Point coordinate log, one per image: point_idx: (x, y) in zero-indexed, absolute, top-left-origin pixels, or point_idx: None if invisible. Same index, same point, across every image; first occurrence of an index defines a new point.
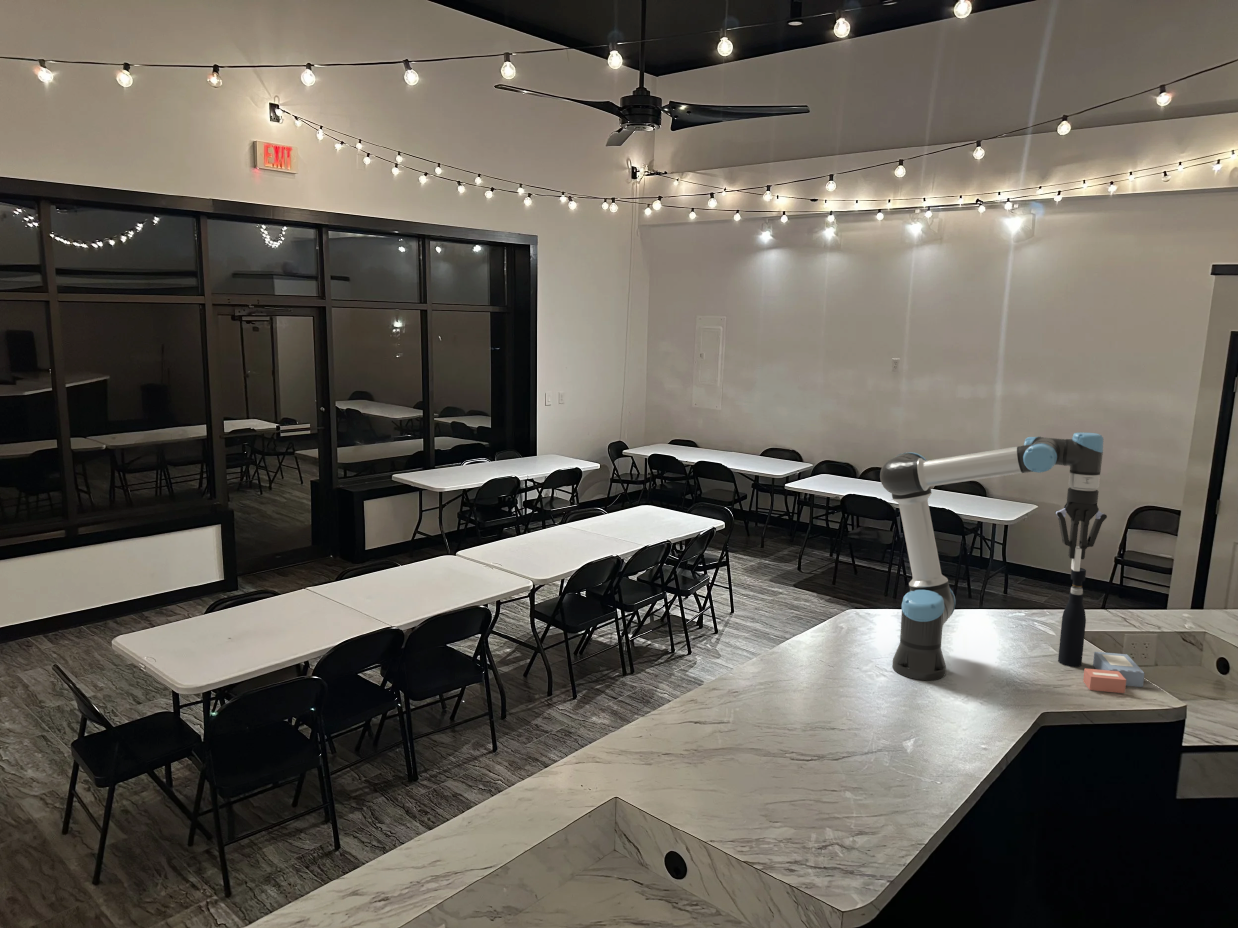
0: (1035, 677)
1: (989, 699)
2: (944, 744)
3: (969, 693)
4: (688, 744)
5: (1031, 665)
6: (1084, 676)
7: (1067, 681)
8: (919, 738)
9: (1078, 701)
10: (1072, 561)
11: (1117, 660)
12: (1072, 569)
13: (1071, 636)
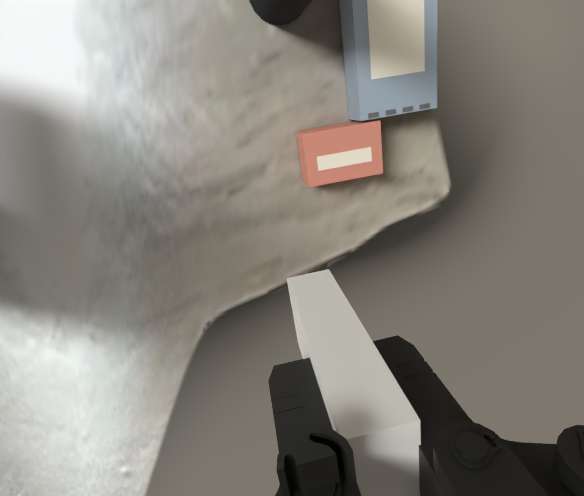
0: (189, 149)
1: (105, 314)
2: (68, 490)
3: (60, 305)
4: None
5: (176, 60)
6: (299, 138)
7: (261, 143)
8: (27, 492)
9: (273, 248)
10: (301, 337)
11: (396, 34)
12: (293, 316)
13: (285, 3)
